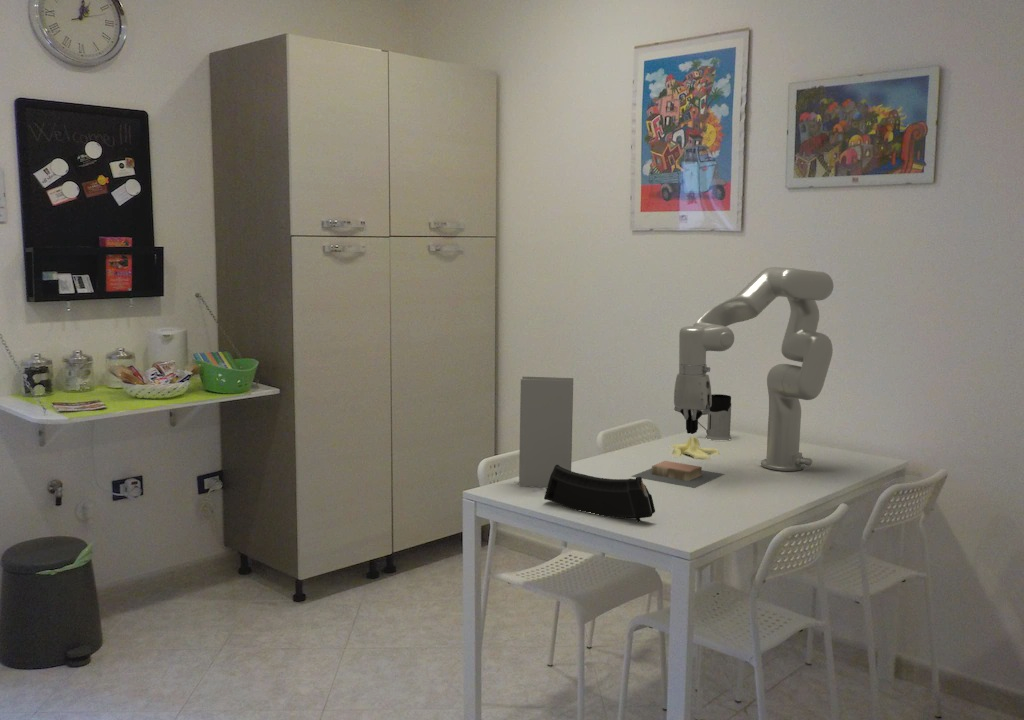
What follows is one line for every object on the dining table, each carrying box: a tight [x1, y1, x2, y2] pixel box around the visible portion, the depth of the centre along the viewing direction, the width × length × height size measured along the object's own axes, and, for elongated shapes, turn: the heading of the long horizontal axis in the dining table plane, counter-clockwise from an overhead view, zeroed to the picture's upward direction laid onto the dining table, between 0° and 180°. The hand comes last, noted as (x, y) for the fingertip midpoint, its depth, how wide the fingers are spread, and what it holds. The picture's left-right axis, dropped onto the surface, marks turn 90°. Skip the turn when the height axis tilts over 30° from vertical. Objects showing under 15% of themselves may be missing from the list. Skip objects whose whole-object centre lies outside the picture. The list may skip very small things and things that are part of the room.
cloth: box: [667, 435, 721, 460], centre depth 303 cm, size 22×19×6 cm
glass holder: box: [692, 393, 732, 441], centre depth 326 cm, size 9×14×15 cm, turn 92°
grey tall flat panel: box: [518, 376, 574, 488], centre depth 260 cm, size 14×6×30 cm, turn 84°
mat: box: [631, 467, 725, 489], centre depth 273 cm, size 20×20×1 cm
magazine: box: [543, 465, 656, 523], centre depth 235 cm, size 17×3×30 cm
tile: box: [651, 460, 703, 481], centre depth 273 cm, size 3×8×12 cm
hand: (691, 432), depth 269 cm, fingers closed
